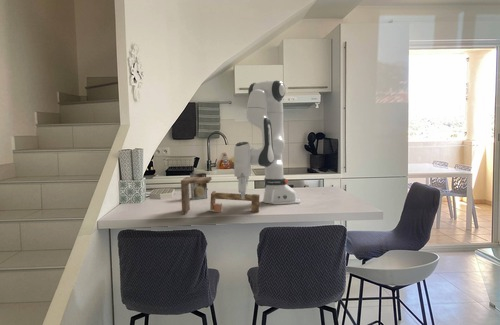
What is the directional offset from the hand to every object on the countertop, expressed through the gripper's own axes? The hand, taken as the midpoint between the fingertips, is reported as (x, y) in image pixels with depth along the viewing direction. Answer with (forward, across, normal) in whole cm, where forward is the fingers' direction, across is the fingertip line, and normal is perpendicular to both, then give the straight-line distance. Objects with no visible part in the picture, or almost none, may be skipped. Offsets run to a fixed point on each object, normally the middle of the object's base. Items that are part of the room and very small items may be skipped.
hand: (243, 198), depth 215 cm
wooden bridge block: (+6, 0, +5) cm, 8 cm away
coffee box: (+7, +42, +31) cm, 52 cm away
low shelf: (+7, 0, +25) cm, 26 cm away
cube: (+7, 0, +14) cm, 16 cm away
